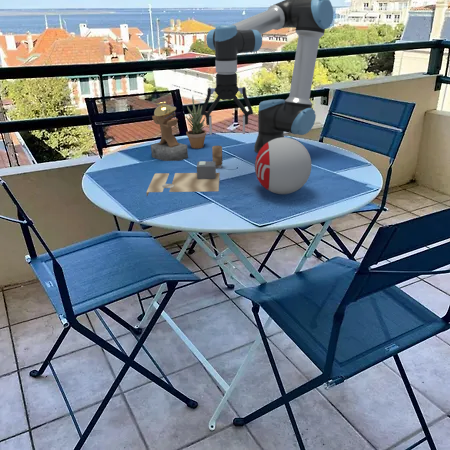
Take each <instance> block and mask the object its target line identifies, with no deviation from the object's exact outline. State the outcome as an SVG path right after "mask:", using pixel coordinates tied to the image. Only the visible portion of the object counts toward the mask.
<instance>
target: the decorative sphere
mask: <svg viewBox="0 0 450 450" xmlns="http://www.w3.org/2000/svg"><path fill="white" fill-rule="evenodd" d="M254 160H255V163H254V172H255V176H256V178H257V181H258V182H259V184H260V185H262V186H261V187H263V188H265V190H267V191H269V192H271V193H274V194H277V195H288V194H292V193H294V192H297V191H298V190H300V189H301V188H302V187H304V186H305V184H306V183H307V182H308V181H309V178H310V176H311V173H312V159H311V155H310V153H309V151H308V149H307V148H306V147H305V145H304V144H302V143H301V142H299V141H298V140H296V139H295V138H292V137H285V136H284V137H282V138H276V139H273V140H271V141H269V142H267V143H266V144H265V145H264V146H263V147H262V148H261V149H260V151H259V152H258V153H257V154H256V156H255V159H254Z"/></svg>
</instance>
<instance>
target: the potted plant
mask: <svg viewBox="0 0 450 450" xmlns="http://www.w3.org/2000/svg"><path fill="white" fill-rule="evenodd" d="M191 100H192V111H191V109H190V107H189V106H188V105H186V107H187V110H188V112H189V113H188V117H189V118H188V117H187V116H185V119H186V120H187V121H188V122H189V123H188V125H189V128H190V130H188V131H186V137H187V138H188V141H189V145H190V147H191V148H192V149H201V148H204V144H205V139H206V136H207V131H206V130H204V128H205V123H204V122H206V121H205V120H206V116H204V115H201V111H202V108H203V105H201V106H200V104H198V107H197V108H196V106H195V99H194V96H191ZM203 116H204V118H203Z"/></svg>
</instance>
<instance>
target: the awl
mask: <svg viewBox="0 0 450 450" xmlns="http://www.w3.org/2000/svg"><path fill="white" fill-rule="evenodd" d="M211 149H212V150H211V151H212V161H216V169H222V165H223V146H222V145H213V146H212V147H211Z"/></svg>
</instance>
